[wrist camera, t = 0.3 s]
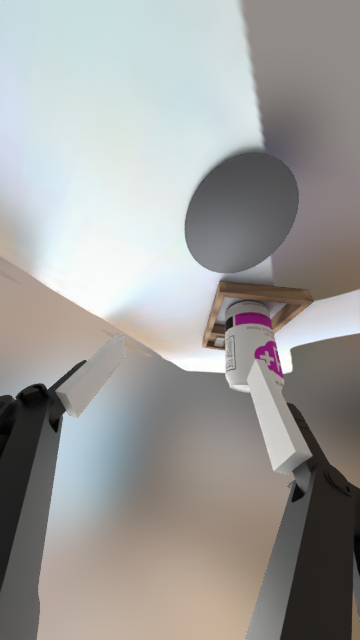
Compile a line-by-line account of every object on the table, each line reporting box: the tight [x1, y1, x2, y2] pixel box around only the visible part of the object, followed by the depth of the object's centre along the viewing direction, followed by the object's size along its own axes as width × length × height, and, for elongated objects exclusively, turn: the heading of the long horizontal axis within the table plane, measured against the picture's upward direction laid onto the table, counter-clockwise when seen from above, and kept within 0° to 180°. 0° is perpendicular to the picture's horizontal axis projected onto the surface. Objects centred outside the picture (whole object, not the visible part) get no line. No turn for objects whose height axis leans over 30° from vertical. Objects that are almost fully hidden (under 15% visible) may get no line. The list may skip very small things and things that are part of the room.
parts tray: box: [202, 281, 314, 350], centre depth 32 cm, size 24×14×3 cm, turn 2°
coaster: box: [185, 153, 299, 273], centre depth 17 cm, size 12×12×1 cm
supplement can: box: [225, 301, 284, 393], centre depth 25 cm, size 8×8×15 cm
